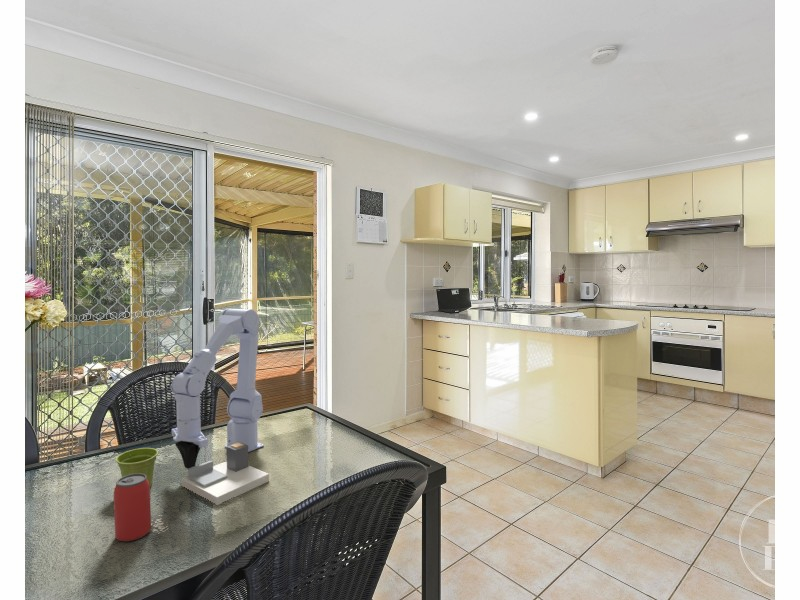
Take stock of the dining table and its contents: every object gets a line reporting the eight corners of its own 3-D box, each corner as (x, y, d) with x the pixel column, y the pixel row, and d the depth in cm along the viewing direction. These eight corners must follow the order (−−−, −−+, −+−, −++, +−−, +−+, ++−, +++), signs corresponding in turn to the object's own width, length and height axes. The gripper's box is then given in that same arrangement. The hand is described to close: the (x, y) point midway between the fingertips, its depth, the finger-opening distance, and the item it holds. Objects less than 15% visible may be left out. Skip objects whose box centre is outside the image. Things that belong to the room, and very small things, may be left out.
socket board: (181, 486, 116) (181, 478, 116) (232, 465, 128) (232, 458, 128) (217, 505, 106) (217, 497, 106) (268, 481, 119) (268, 473, 119)
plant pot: (167, 482, 118) (166, 450, 117) (136, 500, 109) (134, 465, 108) (140, 477, 121) (139, 445, 120) (107, 493, 112) (106, 459, 111)
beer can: (125, 525, 98) (123, 472, 97) (156, 524, 99) (155, 471, 98) (108, 544, 91) (106, 487, 91) (142, 542, 92) (140, 486, 91)
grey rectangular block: (226, 468, 122) (226, 445, 121) (239, 462, 125) (239, 441, 125) (235, 472, 119) (235, 449, 119) (248, 466, 123) (248, 444, 122)
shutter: (188, 478, 115) (187, 468, 115) (211, 469, 120) (210, 460, 120) (204, 487, 111) (204, 476, 111) (227, 477, 116) (227, 467, 116)
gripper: (159, 416, 120) (161, 465, 121) (188, 427, 112) (190, 480, 113) (185, 409, 126) (186, 456, 127) (214, 420, 118) (215, 470, 119)
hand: (190, 467), depth 120 cm, fingers closed
